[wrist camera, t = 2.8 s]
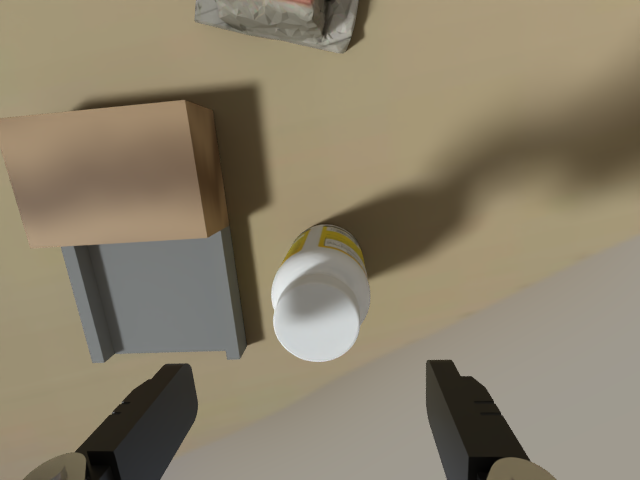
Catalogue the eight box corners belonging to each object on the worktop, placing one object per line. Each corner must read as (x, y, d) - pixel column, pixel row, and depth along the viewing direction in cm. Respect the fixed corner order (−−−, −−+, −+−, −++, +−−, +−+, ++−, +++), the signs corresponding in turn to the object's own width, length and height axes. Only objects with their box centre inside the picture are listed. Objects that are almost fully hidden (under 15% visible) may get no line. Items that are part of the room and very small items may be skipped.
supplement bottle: (298, 297, 25) (270, 381, 16) (284, 229, 24) (243, 276, 14) (368, 287, 24) (383, 368, 15) (357, 217, 23) (365, 257, 14)
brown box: (50, 125, 23) (-8, 119, 19) (212, 110, 22) (184, 99, 18) (79, 234, 25) (30, 248, 21) (229, 225, 24) (207, 238, 20)
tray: (79, 234, 25) (59, 240, 23) (229, 225, 24) (220, 230, 22) (108, 349, 27) (92, 362, 26) (246, 345, 26) (239, 359, 25)
